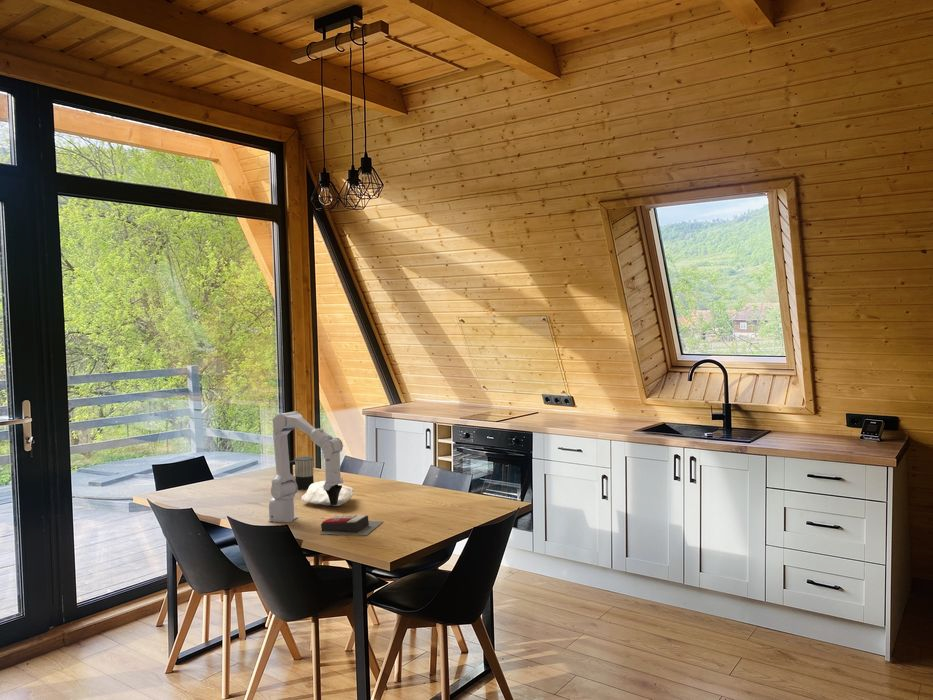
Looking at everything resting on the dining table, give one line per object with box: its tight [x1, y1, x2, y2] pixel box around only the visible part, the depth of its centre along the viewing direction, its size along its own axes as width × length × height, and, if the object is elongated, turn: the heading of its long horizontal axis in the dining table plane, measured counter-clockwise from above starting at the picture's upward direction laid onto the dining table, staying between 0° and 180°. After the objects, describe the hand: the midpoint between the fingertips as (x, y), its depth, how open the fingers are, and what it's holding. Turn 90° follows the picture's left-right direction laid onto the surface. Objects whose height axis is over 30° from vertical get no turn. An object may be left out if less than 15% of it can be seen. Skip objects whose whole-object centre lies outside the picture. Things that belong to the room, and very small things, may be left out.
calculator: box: [320, 514, 370, 532], centre depth 285 cm, size 11×4×15 cm
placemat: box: [320, 520, 384, 537], centre depth 286 cm, size 18×20×1 cm
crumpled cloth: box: [300, 480, 355, 507], centre depth 329 cm, size 24×35×9 cm
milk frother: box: [289, 456, 315, 490], centre depth 360 cm, size 14×16×15 cm
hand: (333, 504), depth 287 cm, fingers closed
